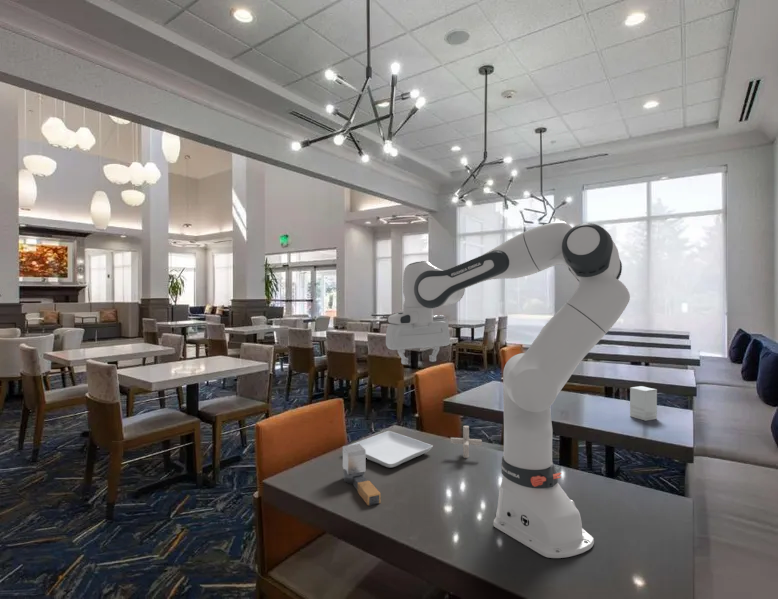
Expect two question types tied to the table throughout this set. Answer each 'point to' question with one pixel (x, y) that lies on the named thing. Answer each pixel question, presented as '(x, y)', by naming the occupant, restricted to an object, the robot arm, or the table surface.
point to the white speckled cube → (354, 459)
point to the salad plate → (392, 448)
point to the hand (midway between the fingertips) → (419, 362)
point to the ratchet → (363, 487)
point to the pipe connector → (466, 441)
